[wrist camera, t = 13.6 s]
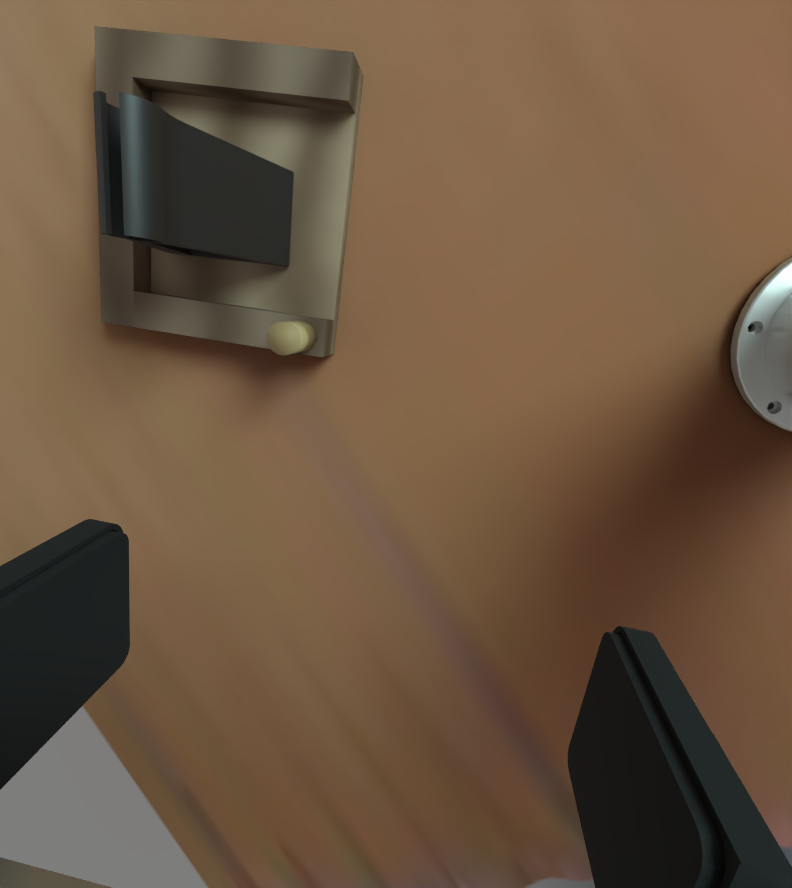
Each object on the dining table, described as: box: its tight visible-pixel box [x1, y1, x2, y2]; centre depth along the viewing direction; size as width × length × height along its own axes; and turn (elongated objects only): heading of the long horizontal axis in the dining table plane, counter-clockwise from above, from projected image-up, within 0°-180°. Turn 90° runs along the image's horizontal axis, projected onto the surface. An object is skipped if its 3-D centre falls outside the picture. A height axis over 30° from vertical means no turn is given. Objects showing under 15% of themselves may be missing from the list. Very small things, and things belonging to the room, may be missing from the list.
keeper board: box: [95, 26, 363, 357], centre depth 32 cm, size 18×18×7 cm
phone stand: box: [93, 91, 294, 267], centre depth 28 cm, size 9×6×12 cm, turn 83°
